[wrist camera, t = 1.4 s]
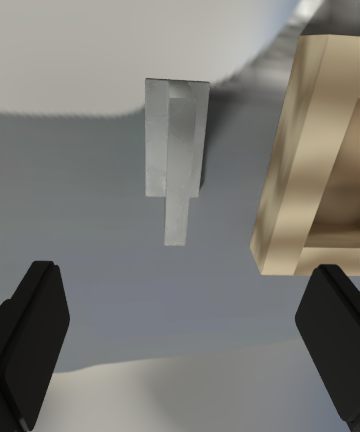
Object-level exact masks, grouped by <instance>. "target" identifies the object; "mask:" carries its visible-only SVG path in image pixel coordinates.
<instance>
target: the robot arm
mask: <svg viewBox="0 0 360 432" xmlns="http://www.w3.org/2000/svg"><path fill="white" fill-rule="evenodd" d="M69 322H70V315H69V310H68V306H67V301H66V297H65V292H64V287H63V283H62V278H61V273H60V269H59V266H58V265H54V263H53V261H34V262H33V263H32V264H31V266H30V268H29V269H28V271H27V273H26V274H25V276H24V278H23V279H22V281H21V283H20V284H19V286H18V288H17V289H16V291H15V293H14V294H13V296H12V297H11V299H7V300H5V301H4V302H3V303H2V304H1V306H0V432H27V431H32V430H33V428H34V426H35V423H36V421H37V418H38V415H39V412H40V409H41V406H42V403H43V400H44V397H45V394H46V391H47V388H48V386H49V383H50V380H51V377H52V374H53V371H54V368H55V365H56V362H57V359H58V356H59V353H60V350H61V347H62V344H63V341H64V338H65V335H66V333H67V330H68V327H69ZM295 323H296V326H297V328H298V330H299V332H300V334H301V336H302V338H303V340H304V342H305V345H306V347H307V348H308V351H309V353H310V355H311V357H312V359H313V362H314V364H315V366H316V368H317V370H318V372H319V374H320V376H321V378H322V380H323V383H324V385H325V387H326V389H327V391H328V393H329V395H330V397H331V399H332V402H333V404H334V406H335V408H336V410H337V412H338V414H339V416H340V418H342V420H343V421H346V422H347V424H348V427H349V429H350V431H351V432H360V292H359V290H358V289H357V288H356V287H355V285H354V284H353V283H352V282H351V280H350V279H349V278H348V277H347V275H346V274H345V273H344V272H343V270H342V269H341V268H340V267H339V266H338V265H336V264H320V265H318V267H317V268H315V269H314V270H313V272H312V275H311V277H310V280H309V282H308V285H307V287H306V290H305V292H304V295H303V297H302V300H301V302H300V305H299V307H298V310H297V312H296V315H295Z"/></svg>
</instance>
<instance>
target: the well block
mask: <svg viewBox="0 0 360 432" xmlns="http://www.w3.org/2000/svg"><path fill="white" fill-rule="evenodd" d="M250 249H251V251H252V254H253V256H254V258H255V261H256V263H257V266H258V268H259V271H260V273H261V275H312V272H313V270H314V269H315V268H317V267H318V265H320V264H336V265H338V266H339V267H340V268H341V269H342V270H343V272H344V273H345V274H346V275H347V276H360V37H357V36H344V35H304V36H300V37H299V41H298V45H297V49H296V54H295V58H294V62H293V66H292V70H291V75H290V79H289V83H288V87H287V91H286V96H285V100H284V104H283V108H282V112H281V117H280V121H279V125H278V129H277V134H276V138H275V142H274V146H273V150H272V155H271V159H270V163H269V167H268V171H267V176H266V180H265V184H264V188H263V192H262V197H261V201H260V205H259V209H258V213H257V218H256V222H255V226H254V230H253V234H252V239H251V243H250Z"/></svg>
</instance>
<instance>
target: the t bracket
mask: <svg viewBox="0 0 360 432" xmlns="http://www.w3.org/2000/svg"><path fill="white" fill-rule="evenodd" d="M209 91H210V83H209V82H204V81H187V80H170V79H153V78H146V79H145V126H146V196H160V197H164V221H165V245H182V246H185V241H186V230H187V218H188V206H189V197H195V198H198V196H199V186H200V177H201V167H202V158H203V148H204V139H205V129H206V119H207V110H208V100H209Z"/></svg>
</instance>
